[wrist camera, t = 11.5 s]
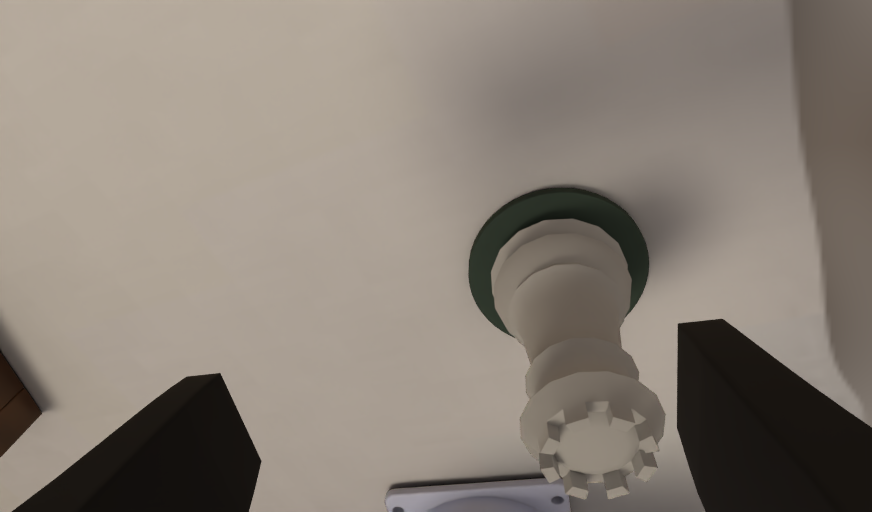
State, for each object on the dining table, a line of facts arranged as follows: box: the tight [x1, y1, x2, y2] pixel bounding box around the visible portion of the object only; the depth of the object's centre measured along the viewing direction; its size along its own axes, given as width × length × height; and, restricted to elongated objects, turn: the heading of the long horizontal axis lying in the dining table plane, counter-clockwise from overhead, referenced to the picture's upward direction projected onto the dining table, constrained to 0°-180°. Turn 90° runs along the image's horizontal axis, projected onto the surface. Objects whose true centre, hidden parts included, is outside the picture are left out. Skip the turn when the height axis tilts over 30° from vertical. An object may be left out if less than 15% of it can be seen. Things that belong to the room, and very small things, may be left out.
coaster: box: [469, 188, 649, 338], centre depth 19 cm, size 6×6×1 cm
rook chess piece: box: [491, 219, 665, 499], centre depth 16 cm, size 4×4×8 cm
